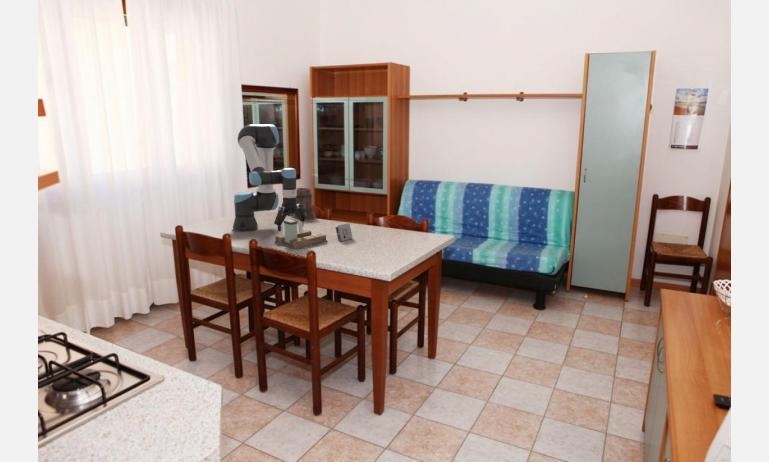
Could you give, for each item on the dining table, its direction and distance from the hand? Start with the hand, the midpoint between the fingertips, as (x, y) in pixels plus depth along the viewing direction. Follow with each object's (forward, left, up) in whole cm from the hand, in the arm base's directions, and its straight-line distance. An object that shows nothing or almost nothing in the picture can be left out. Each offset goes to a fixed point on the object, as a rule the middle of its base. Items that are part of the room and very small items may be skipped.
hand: (291, 234), depth 274 cm
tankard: (-53, +49, -6) cm, 73 cm away
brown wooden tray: (0, +7, -6) cm, 9 cm away
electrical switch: (+12, +29, -6) cm, 32 cm away
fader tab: (0, 0, -4) cm, 4 cm away
